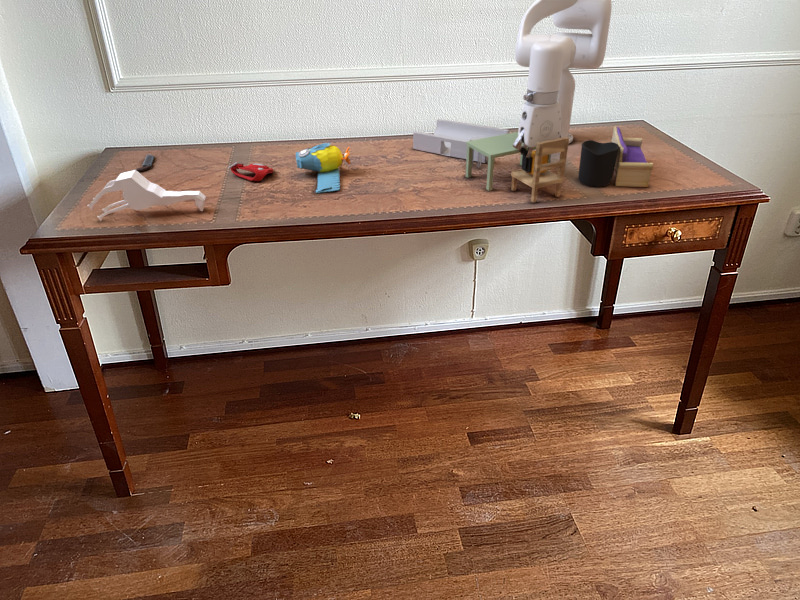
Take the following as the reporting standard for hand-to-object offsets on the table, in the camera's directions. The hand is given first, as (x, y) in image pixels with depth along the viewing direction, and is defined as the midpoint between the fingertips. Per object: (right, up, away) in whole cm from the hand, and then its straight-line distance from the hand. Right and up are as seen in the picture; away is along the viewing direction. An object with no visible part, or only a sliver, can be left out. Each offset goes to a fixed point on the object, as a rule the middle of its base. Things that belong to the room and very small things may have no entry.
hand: (534, 168), depth 155 cm
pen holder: (+18, -2, +9) cm, 20 cm away
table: (-5, 0, +12) cm, 13 cm away
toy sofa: (+29, +1, +13) cm, 32 cm away
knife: (-111, +7, +26) cm, 114 cm away
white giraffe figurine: (-97, -12, -4) cm, 98 cm away
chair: (+1, -6, +3) cm, 7 cm away
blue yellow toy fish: (-56, +2, +17) cm, 59 cm away
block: (0, 0, 0) cm, 1 cm away
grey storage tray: (-17, +12, +31) cm, 37 cm away
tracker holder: (-77, +2, +17) cm, 78 cm away
